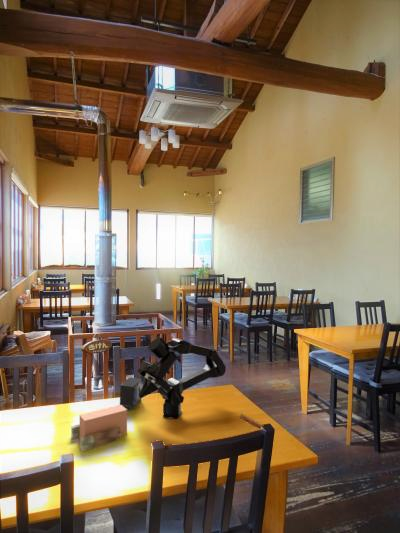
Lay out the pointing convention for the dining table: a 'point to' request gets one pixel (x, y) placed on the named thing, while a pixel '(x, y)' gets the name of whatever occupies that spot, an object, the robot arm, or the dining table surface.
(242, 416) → the chocolate bar
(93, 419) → the block
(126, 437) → the dining table surface
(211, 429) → the dining table surface
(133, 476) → the dining table surface
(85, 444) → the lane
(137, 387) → the small box
